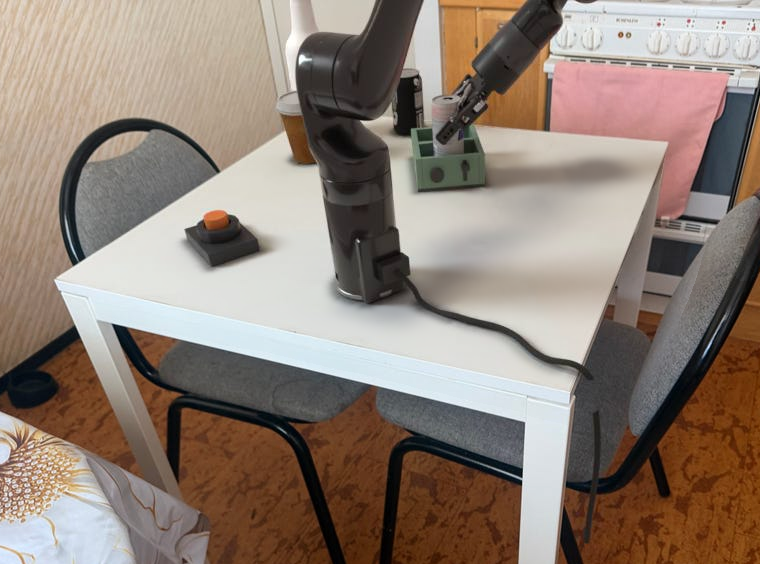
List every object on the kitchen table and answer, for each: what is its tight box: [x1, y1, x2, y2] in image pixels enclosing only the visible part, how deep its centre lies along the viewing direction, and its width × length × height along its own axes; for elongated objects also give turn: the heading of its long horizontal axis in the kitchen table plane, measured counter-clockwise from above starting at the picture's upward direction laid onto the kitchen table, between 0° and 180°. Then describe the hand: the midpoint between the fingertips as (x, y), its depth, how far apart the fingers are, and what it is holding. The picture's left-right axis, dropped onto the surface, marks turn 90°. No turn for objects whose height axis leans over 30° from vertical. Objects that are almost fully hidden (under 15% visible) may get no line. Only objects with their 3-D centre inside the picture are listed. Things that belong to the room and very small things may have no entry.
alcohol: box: [284, 0, 320, 91], centre depth 139 cm, size 9×9×30 cm
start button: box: [202, 209, 229, 230], centre depth 109 cm, size 4×4×2 cm
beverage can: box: [391, 67, 426, 137], centre depth 144 cm, size 7×7×12 cm
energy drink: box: [430, 94, 464, 156], centre depth 122 cm, size 5×5×12 cm
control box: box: [184, 213, 261, 268], centre depth 110 cm, size 11×8×4 cm
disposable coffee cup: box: [275, 90, 317, 165], centre depth 135 cm, size 10×10×12 cm
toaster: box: [410, 123, 486, 193], centre depth 127 cm, size 12×17×6 cm
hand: (437, 135), depth 122 cm, fingers closed on energy drink, 5 cm apart
